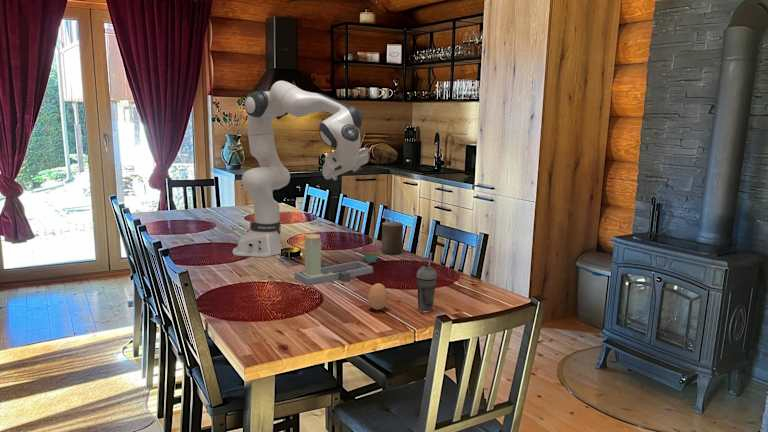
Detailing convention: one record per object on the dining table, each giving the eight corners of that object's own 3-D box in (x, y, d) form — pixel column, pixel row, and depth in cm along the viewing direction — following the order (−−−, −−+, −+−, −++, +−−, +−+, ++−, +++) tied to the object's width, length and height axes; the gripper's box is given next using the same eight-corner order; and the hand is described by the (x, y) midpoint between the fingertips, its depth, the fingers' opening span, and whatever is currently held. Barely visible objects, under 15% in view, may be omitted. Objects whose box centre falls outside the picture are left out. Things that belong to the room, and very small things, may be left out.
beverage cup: (413, 306, 196) (415, 249, 192) (434, 306, 197) (436, 250, 193) (416, 314, 189) (418, 255, 185) (437, 314, 190) (440, 255, 186)
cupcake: (382, 259, 254) (383, 232, 251) (376, 264, 246) (377, 236, 243) (364, 257, 256) (365, 230, 254) (357, 261, 248) (358, 234, 246)
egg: (387, 306, 196) (388, 280, 194) (388, 313, 189) (388, 286, 187) (367, 305, 195) (368, 280, 194) (367, 312, 189) (368, 286, 187)
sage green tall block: (310, 282, 217) (310, 238, 214) (301, 277, 223) (301, 234, 219) (324, 279, 221) (324, 236, 218) (314, 275, 226) (315, 232, 223)
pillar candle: (400, 255, 260) (401, 223, 257) (379, 253, 262) (380, 221, 259) (403, 250, 270) (405, 219, 267) (383, 249, 271) (384, 218, 269)
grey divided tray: (312, 288, 212) (312, 280, 211) (290, 276, 226) (290, 268, 225) (378, 275, 230) (378, 267, 230) (353, 264, 244) (353, 257, 243)
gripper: (365, 140, 232) (362, 159, 244) (320, 159, 225) (319, 177, 237) (373, 152, 229) (369, 170, 242) (328, 171, 222) (327, 189, 234)
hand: (344, 174), depth 239 cm, fingers open, 8 cm apart
